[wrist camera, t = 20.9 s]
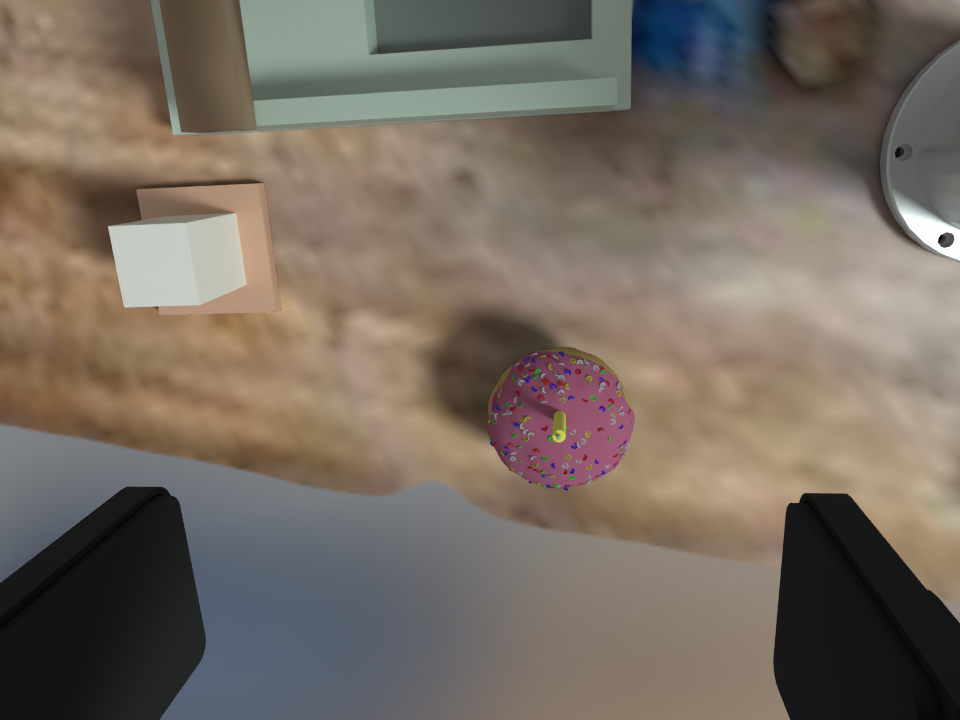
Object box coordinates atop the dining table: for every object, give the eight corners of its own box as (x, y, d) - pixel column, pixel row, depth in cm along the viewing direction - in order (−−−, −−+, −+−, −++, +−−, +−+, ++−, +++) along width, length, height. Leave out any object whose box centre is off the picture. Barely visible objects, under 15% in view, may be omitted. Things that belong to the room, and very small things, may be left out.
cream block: (236, 212, 43) (185, 222, 37) (246, 284, 44) (199, 305, 38) (167, 216, 43) (107, 226, 38) (180, 286, 45) (124, 307, 39)
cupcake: (491, 331, 44) (465, 395, 33) (627, 327, 43) (650, 392, 31) (498, 455, 46) (476, 555, 35) (627, 454, 45) (648, 557, 34)
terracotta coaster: (263, 182, 43) (258, 183, 42) (281, 309, 45) (276, 312, 44) (143, 188, 44) (136, 189, 43) (166, 311, 46) (159, 314, 45)
